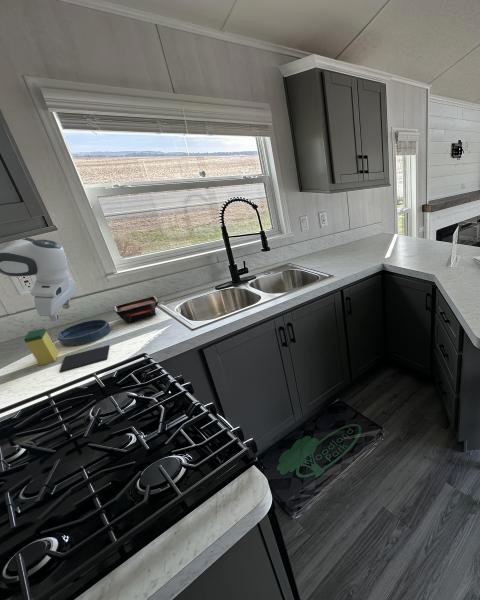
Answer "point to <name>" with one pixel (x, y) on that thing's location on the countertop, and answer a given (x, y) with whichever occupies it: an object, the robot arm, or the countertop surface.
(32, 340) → the sponge
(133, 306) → the baking dish
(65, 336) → the bowl
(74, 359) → the drying mat
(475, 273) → the countertop surface
